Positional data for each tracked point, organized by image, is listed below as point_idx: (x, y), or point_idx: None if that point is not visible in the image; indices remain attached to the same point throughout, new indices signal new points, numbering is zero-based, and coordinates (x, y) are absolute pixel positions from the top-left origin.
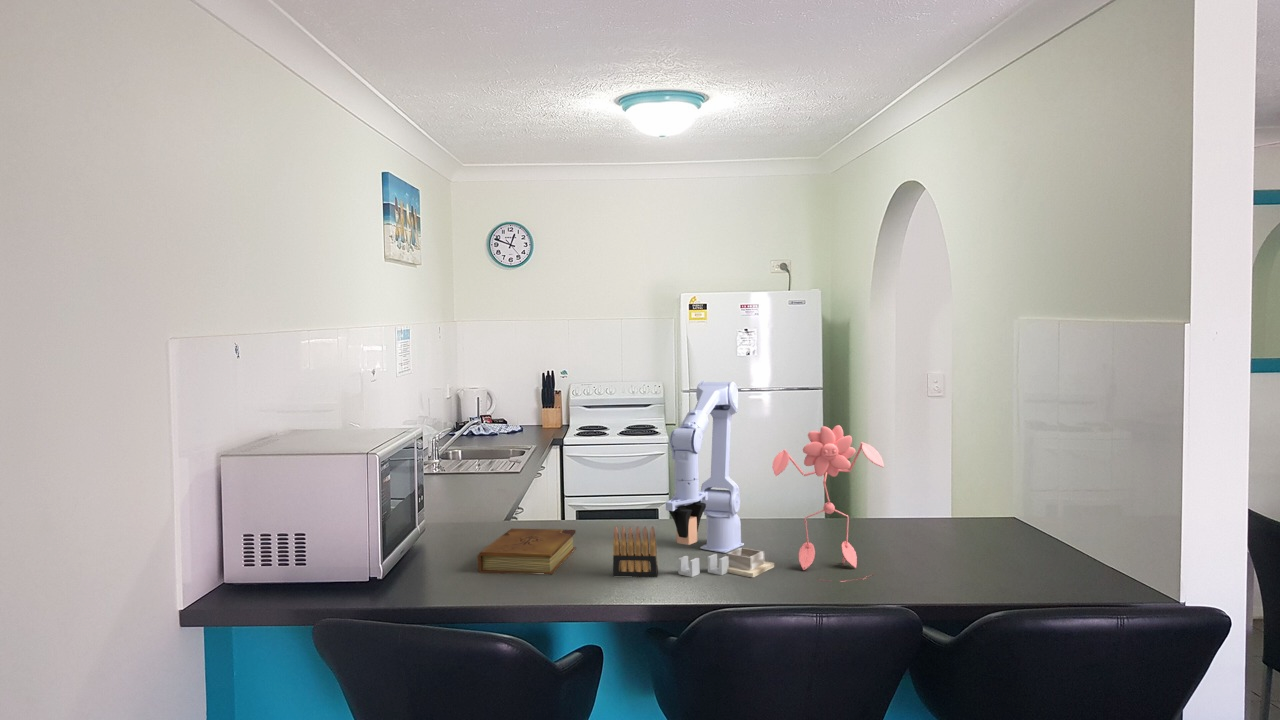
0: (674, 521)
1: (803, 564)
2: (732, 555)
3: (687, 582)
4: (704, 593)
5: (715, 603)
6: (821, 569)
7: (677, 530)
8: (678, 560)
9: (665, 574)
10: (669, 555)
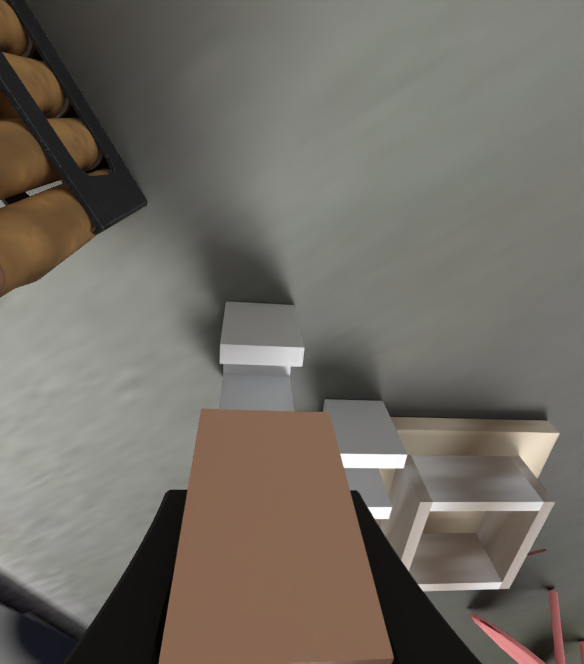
0: (73, 651)
1: (487, 629)
2: (410, 525)
3: (142, 397)
4: (71, 509)
5: (11, 575)
6: (505, 628)
7: (144, 540)
8: (221, 338)
9: (183, 237)
10: (576, 16)
